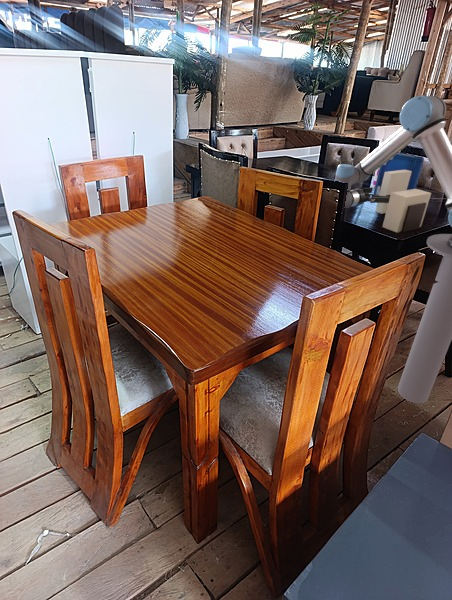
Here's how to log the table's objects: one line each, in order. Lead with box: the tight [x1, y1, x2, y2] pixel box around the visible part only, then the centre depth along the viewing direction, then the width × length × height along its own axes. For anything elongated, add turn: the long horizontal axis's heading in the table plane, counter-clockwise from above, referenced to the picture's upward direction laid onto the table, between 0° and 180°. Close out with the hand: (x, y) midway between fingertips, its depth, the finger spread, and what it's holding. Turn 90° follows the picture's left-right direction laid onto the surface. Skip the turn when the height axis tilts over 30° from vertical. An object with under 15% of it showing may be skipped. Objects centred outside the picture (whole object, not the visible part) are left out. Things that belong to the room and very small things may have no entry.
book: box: [372, 151, 425, 195], centre depth 223 cm, size 22×7×25 cm, turn 58°
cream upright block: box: [382, 188, 432, 233], centre depth 182 cm, size 9×18×16 cm, turn 122°
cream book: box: [375, 170, 412, 215], centre depth 203 cm, size 4×16×20 cm, turn 123°
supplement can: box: [371, 168, 380, 191], centre depth 243 cm, size 8×8×15 cm
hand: (382, 193), depth 200 cm, fingers open, 13 cm apart
